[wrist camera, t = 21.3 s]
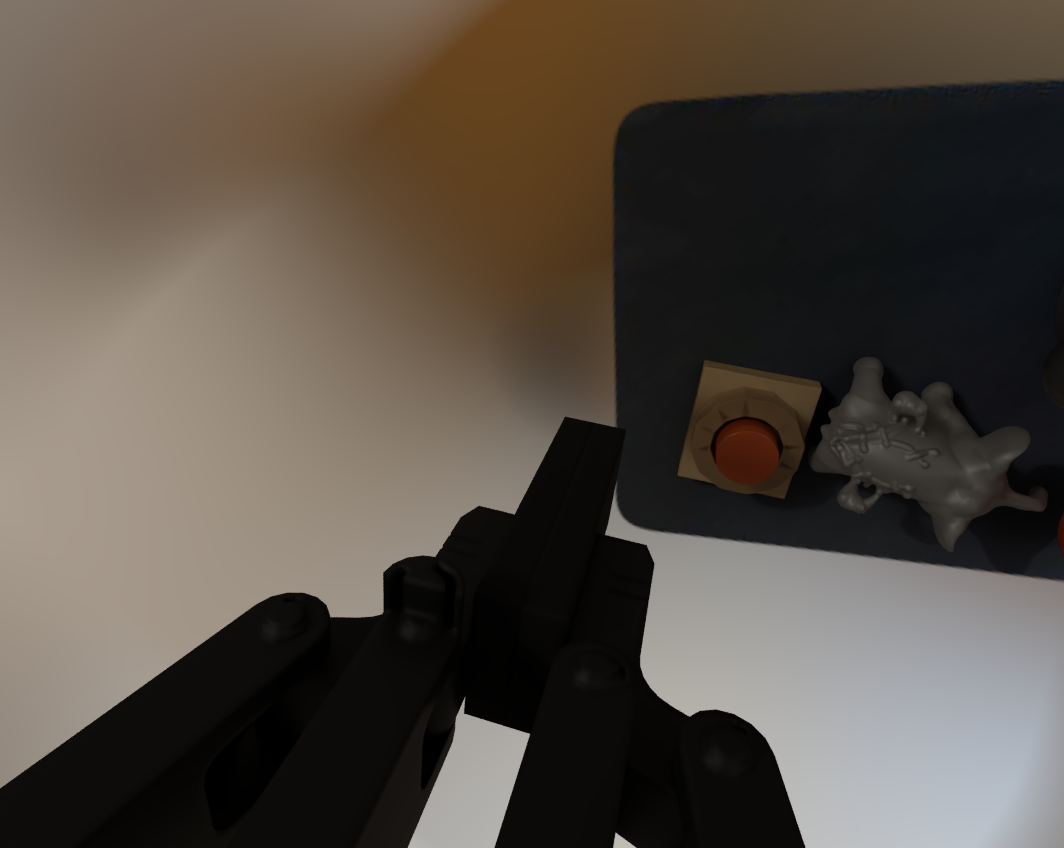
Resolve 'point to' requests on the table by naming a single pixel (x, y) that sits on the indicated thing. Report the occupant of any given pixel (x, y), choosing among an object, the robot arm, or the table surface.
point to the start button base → (748, 397)
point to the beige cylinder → (1060, 315)
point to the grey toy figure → (919, 454)
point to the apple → (1061, 534)
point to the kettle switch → (1054, 375)
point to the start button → (747, 451)
